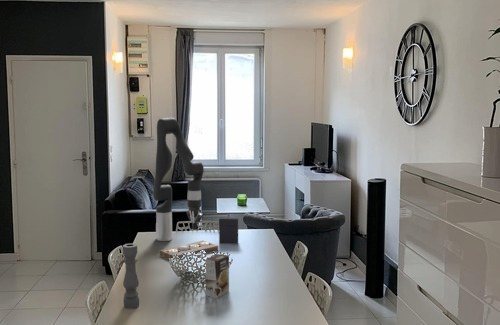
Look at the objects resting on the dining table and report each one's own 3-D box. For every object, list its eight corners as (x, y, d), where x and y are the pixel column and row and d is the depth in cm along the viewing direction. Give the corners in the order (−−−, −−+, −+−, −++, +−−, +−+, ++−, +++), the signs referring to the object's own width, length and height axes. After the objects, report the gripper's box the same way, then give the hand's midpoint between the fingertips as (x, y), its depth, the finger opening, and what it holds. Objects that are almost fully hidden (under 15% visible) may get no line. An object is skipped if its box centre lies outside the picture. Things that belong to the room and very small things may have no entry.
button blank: (177, 251, 266) (177, 246, 266) (185, 249, 269) (185, 244, 269) (183, 253, 263) (182, 248, 262) (190, 251, 266) (190, 246, 266)
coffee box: (217, 298, 205) (217, 261, 203) (205, 295, 209) (204, 258, 207) (229, 291, 213) (229, 255, 211) (217, 288, 216) (217, 253, 214)
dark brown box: (238, 242, 290) (238, 217, 289) (237, 244, 286) (237, 219, 284) (220, 241, 291) (220, 217, 290) (219, 243, 287) (218, 218, 285)
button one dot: (198, 247, 276) (198, 243, 275) (205, 246, 279) (205, 241, 279) (203, 249, 272) (203, 244, 272) (210, 247, 275) (210, 243, 275)
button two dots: (167, 255, 262) (166, 250, 261) (174, 253, 265) (174, 248, 264) (172, 257, 258) (171, 252, 258) (179, 255, 261) (179, 250, 261)
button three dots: (188, 250, 271) (188, 245, 271) (195, 248, 274) (195, 243, 274) (193, 251, 267) (193, 247, 267) (200, 250, 271) (200, 245, 270)
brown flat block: (159, 255, 264) (159, 250, 264) (202, 245, 283) (202, 240, 283) (174, 261, 254) (174, 256, 253) (218, 250, 273) (218, 245, 273)
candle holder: (125, 302, 200) (123, 243, 197) (140, 302, 201) (139, 243, 198) (122, 309, 194) (120, 247, 191) (138, 308, 195) (136, 247, 192)
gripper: (181, 197, 270) (182, 228, 272) (195, 201, 260) (196, 232, 262) (192, 195, 275) (193, 225, 277) (207, 199, 265) (207, 230, 267)
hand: (194, 229), depth 270 cm, fingers closed
